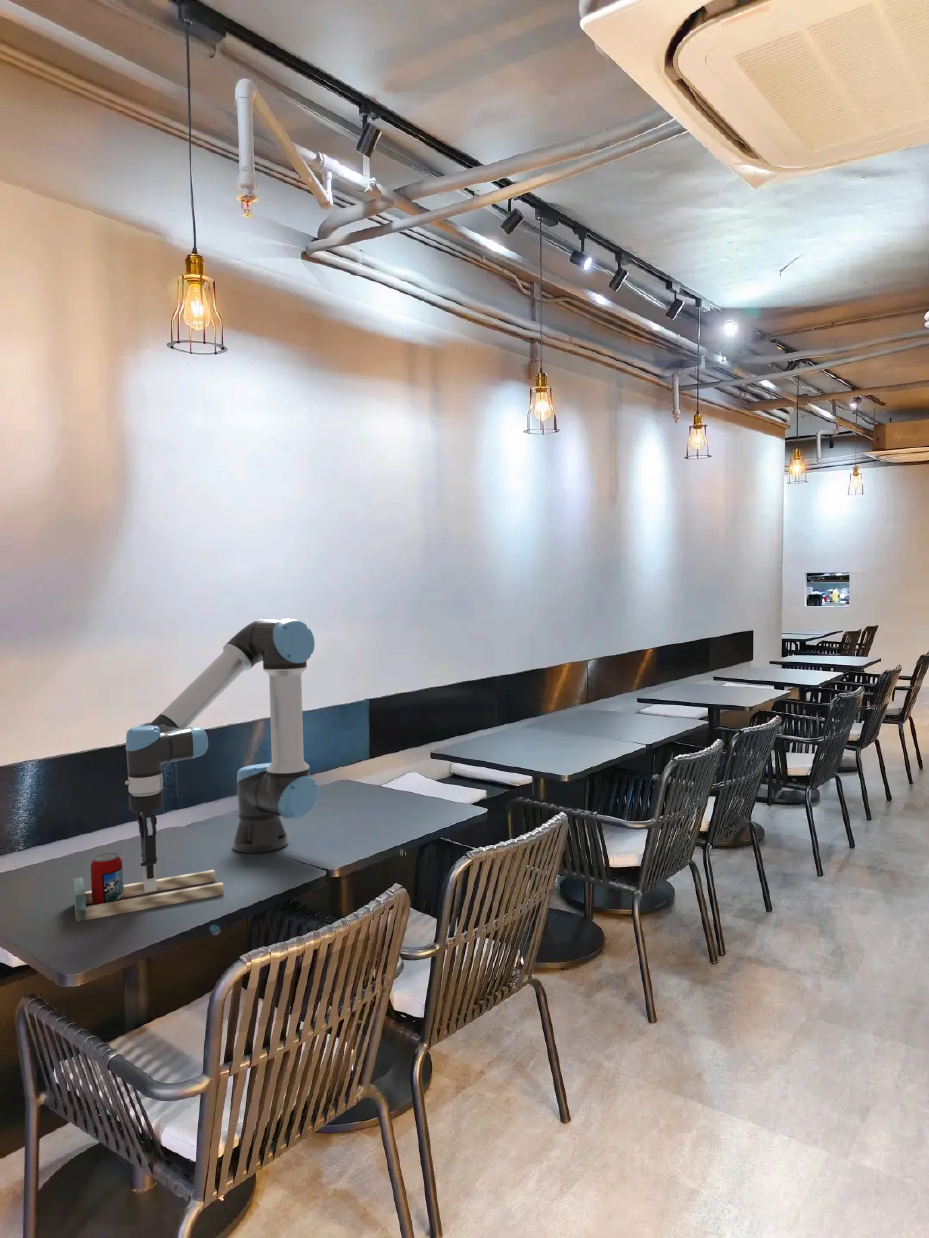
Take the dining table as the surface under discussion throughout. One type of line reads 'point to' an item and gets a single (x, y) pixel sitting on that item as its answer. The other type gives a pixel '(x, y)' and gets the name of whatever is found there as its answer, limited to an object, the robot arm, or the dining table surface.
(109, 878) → the beverage can
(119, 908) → the channel
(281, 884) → the dining table surface
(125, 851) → the dining table surface
